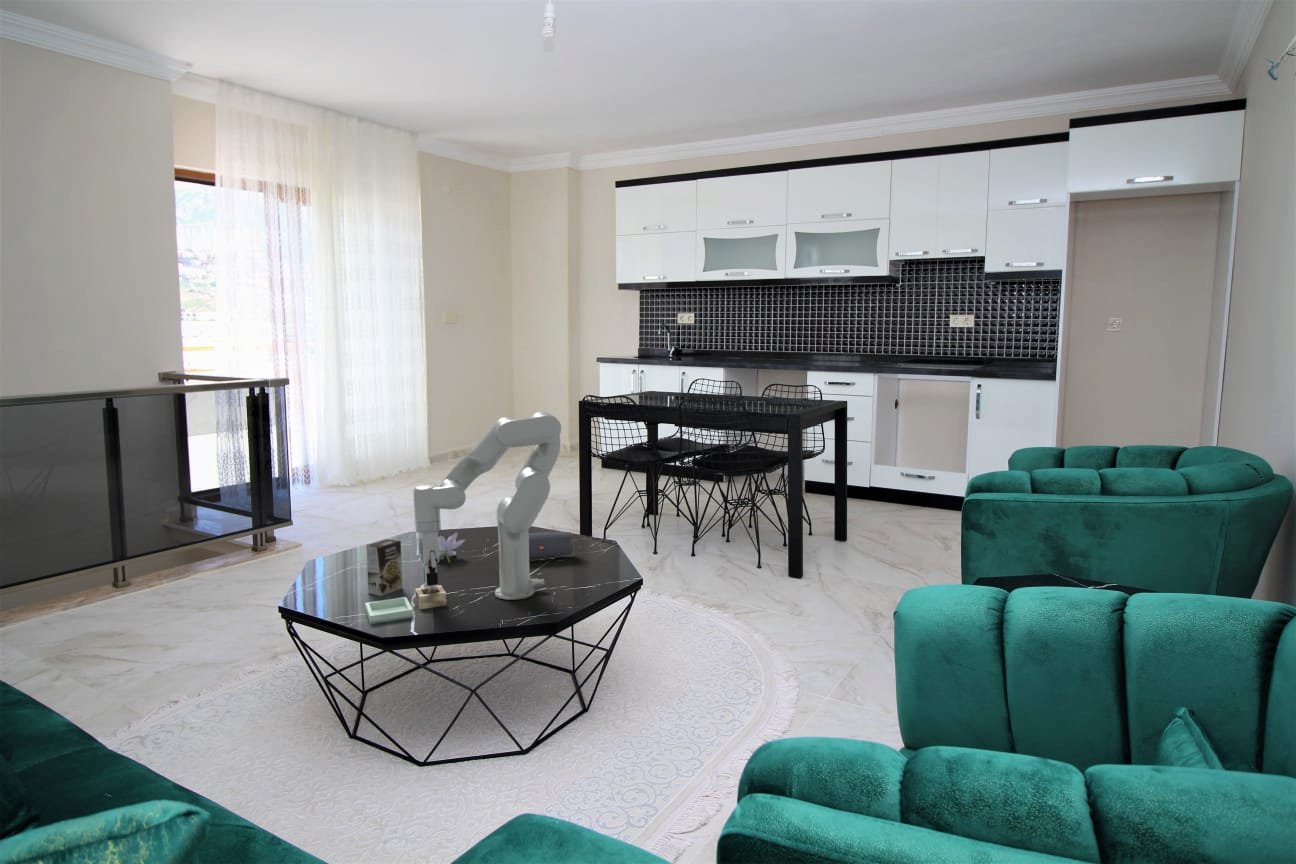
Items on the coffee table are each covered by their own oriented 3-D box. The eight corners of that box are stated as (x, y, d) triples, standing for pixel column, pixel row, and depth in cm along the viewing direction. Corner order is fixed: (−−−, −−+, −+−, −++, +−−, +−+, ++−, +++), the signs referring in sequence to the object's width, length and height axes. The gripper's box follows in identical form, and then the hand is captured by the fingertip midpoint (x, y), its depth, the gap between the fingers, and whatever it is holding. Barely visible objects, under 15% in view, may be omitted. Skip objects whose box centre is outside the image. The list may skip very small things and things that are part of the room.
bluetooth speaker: (510, 565, 283) (509, 538, 282) (508, 557, 292) (507, 531, 291) (573, 560, 289) (572, 534, 287) (569, 553, 298) (569, 527, 296)
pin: (425, 600, 246) (423, 563, 244) (437, 599, 248) (435, 562, 246) (427, 604, 243) (425, 567, 241) (439, 602, 244) (437, 565, 243)
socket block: (441, 597, 250) (440, 585, 250) (446, 605, 243) (446, 592, 243) (415, 601, 247) (414, 588, 246) (419, 609, 240) (419, 596, 239)
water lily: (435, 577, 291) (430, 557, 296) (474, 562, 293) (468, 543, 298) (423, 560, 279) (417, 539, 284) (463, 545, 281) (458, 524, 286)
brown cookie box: (382, 596, 251) (379, 547, 249) (367, 593, 254) (365, 544, 252) (403, 588, 259) (401, 540, 257) (389, 585, 262) (387, 538, 260)
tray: (406, 604, 244) (406, 596, 244) (413, 617, 233) (412, 609, 233) (365, 610, 239) (365, 602, 238) (370, 624, 228) (369, 616, 228)
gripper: (410, 520, 248) (414, 577, 250) (420, 533, 233) (423, 593, 235) (435, 517, 251) (438, 573, 253) (446, 530, 236) (449, 589, 239)
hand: (431, 582), depth 244 cm, fingers closed on pin, 3 cm apart
